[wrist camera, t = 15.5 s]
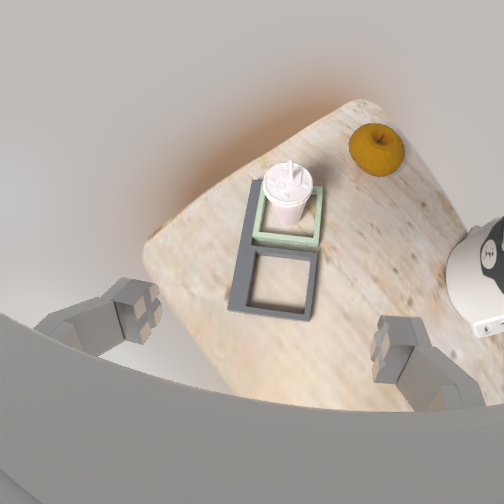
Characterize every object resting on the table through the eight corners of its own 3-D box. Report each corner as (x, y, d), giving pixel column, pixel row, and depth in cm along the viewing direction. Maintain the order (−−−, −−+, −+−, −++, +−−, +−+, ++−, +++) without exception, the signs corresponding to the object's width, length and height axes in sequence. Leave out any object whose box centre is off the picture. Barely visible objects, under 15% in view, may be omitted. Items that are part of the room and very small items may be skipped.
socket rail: (322, 191, 47) (322, 186, 45) (308, 322, 40) (309, 321, 39) (253, 184, 49) (252, 179, 47) (229, 310, 42) (227, 309, 41)
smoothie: (318, 218, 45) (326, 164, 32) (286, 242, 45) (283, 195, 32) (291, 190, 47) (290, 132, 34) (260, 212, 47) (247, 159, 34)
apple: (336, 170, 48) (342, 136, 39) (359, 139, 49) (367, 104, 41) (382, 198, 45) (397, 167, 37) (402, 163, 47) (417, 131, 38)
